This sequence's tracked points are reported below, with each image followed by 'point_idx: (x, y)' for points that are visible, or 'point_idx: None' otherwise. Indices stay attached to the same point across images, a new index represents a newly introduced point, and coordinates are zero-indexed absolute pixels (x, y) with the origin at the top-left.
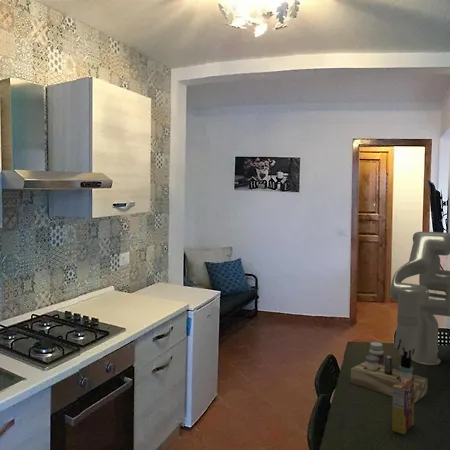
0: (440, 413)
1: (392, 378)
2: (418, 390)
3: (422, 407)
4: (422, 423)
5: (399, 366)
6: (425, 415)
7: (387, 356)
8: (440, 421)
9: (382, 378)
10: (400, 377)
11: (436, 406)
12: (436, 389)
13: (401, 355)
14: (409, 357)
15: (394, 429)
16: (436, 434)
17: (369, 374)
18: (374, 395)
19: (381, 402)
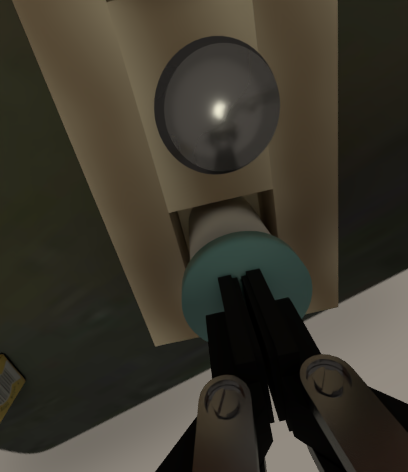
0: (183, 369)
1: (147, 201)
2: None
3: None
4: (65, 383)
5: (201, 268)
6: (122, 359)
7: (183, 110)
8: (133, 395)
9: (77, 154)
10: (192, 240)
11: None
12: (381, 250)
13: (202, 414)
14: (287, 421)
15: None
16: (55, 427)
17: (17, 6)
18: (44, 137)
19: (26, 216)
